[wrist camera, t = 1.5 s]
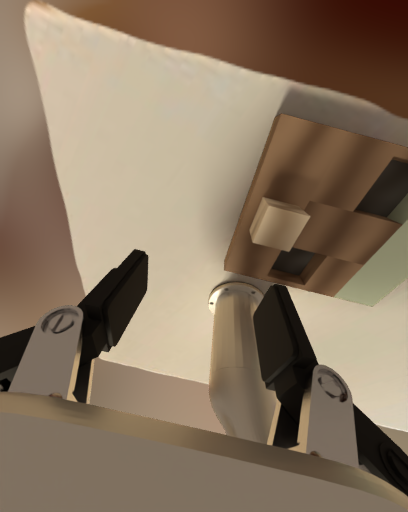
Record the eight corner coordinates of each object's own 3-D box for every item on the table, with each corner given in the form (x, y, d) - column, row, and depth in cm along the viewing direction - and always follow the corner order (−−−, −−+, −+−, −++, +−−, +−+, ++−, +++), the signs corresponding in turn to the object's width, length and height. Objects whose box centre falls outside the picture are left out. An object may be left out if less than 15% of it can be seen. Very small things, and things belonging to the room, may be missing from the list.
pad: (491, 175, 21) (526, 179, 18) (361, 294, 33) (372, 306, 31) (434, 160, 21) (462, 162, 18) (325, 285, 33) (333, 297, 30)
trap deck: (434, 160, 21) (462, 161, 18) (325, 285, 33) (333, 297, 30) (274, 117, 20) (281, 113, 18) (224, 260, 33) (224, 270, 30)
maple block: (298, 206, 23) (310, 216, 19) (281, 238, 25) (289, 251, 22) (262, 197, 23) (268, 205, 19) (249, 229, 25) (252, 242, 22)
